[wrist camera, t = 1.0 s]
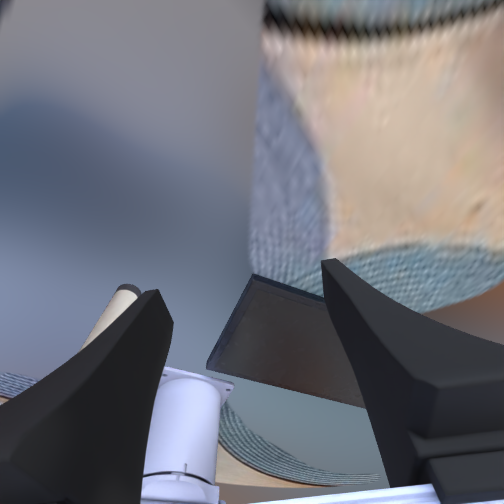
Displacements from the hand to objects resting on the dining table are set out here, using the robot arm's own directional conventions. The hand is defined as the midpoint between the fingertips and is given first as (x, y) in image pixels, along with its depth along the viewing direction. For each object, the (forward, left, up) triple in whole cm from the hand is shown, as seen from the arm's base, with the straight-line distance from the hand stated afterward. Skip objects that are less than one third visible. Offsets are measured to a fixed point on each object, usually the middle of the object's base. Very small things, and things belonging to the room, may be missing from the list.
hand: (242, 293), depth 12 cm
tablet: (-11, -13, -10) cm, 19 cm away
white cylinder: (-11, +6, -10) cm, 16 cm away
